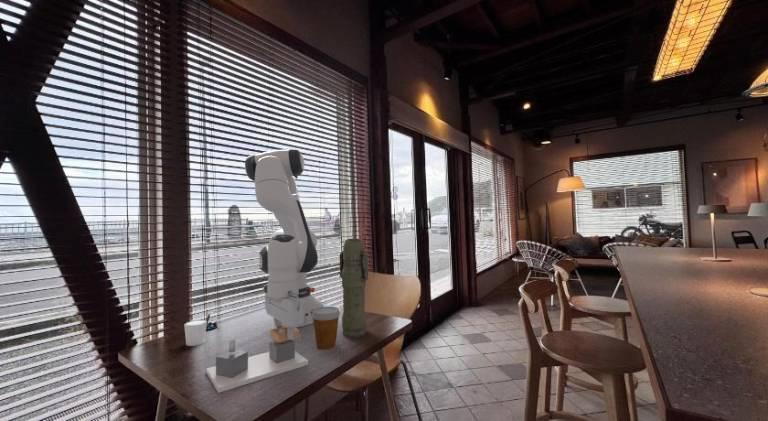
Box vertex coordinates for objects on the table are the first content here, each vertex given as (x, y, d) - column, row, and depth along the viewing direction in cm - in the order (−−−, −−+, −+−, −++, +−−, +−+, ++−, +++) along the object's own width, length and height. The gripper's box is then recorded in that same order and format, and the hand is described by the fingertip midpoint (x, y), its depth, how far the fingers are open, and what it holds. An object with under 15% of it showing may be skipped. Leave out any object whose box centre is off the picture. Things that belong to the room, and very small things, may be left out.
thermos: (346, 327, 128) (345, 238, 129) (373, 331, 124) (372, 238, 125) (334, 335, 120) (333, 239, 121) (363, 339, 116) (362, 240, 117)
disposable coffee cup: (329, 338, 117) (329, 304, 117) (346, 346, 110) (345, 309, 110) (306, 346, 110) (305, 310, 110) (322, 354, 103) (321, 316, 104)
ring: (290, 331, 103) (290, 325, 104) (299, 336, 99) (299, 330, 99) (270, 336, 99) (270, 329, 99) (278, 342, 94) (278, 335, 94)
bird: (191, 326, 126) (207, 311, 131) (195, 334, 131) (211, 319, 136) (206, 337, 124) (222, 321, 129) (210, 345, 129) (225, 329, 134)
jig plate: (288, 350, 107) (288, 319, 107) (308, 364, 96) (307, 330, 96) (206, 372, 92) (206, 336, 92) (218, 392, 81) (218, 351, 81)
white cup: (196, 347, 111) (196, 326, 111) (179, 345, 112) (179, 325, 112) (211, 339, 117) (211, 320, 118) (194, 338, 119) (194, 319, 119)
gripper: (309, 292, 93) (310, 341, 93) (280, 282, 109) (280, 324, 109) (288, 296, 89) (288, 348, 89) (261, 285, 105) (261, 329, 105)
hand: (284, 335), depth 99 cm, fingers closed on ring, 6 cm apart
